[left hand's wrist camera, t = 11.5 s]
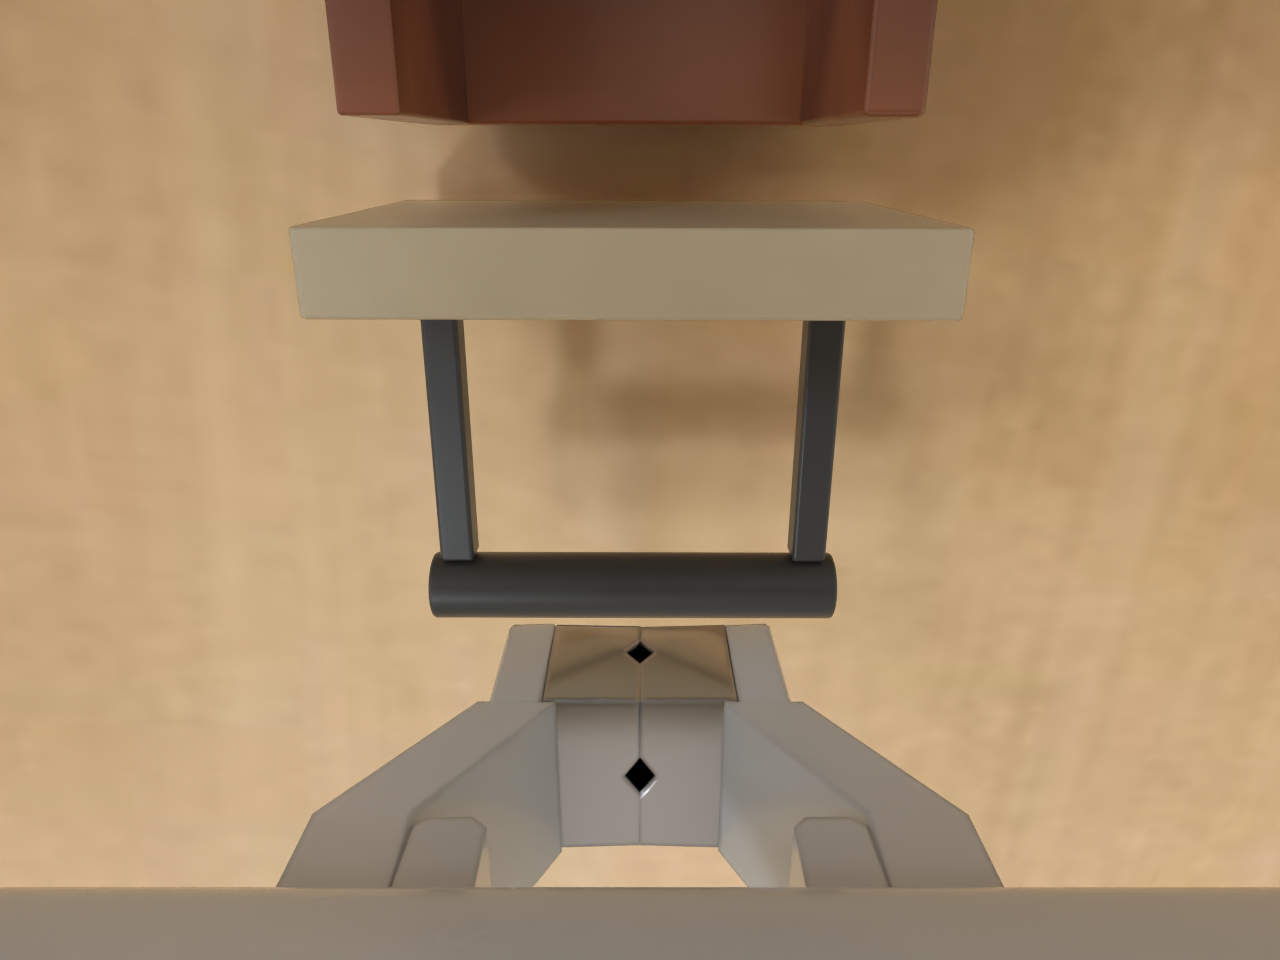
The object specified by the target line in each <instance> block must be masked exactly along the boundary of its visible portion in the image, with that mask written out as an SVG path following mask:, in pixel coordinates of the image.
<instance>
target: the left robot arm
mask: <svg viewBox="0 0 1280 960" xmlns="http://www.w3.org/2000/svg"><path fill="white" fill-rule="evenodd" d="M621 845H656V846H693V847H719V849H718V851H719V852H720V853H721V855H722V856H723V857H724V858H725V859H726V861H727V862H728V863H729V864H730V866H731V867H732V868H733V869H734V871H735V872H736V873H737V874H738V876H739V877H740V878H741V879H742V881H743V882H744V883H745V884H746V886H747V887H533V886H534V885H535V884H536V883H537V881H538V880H539V879H540V878H541V876H542V875H543V874H544V873H545V871H546V870H547V869H548V868H549V866H550V865H551V864H552V863H553V862H554V860H555V859H556V858H557V857H558V855H559V854H560V853H561V852H562V848H561V847H586V846H621ZM0 960H1280V887H1004V886H1003V884H1002V882H1001V880H1000V878H999V876H998V874H997V872H996V870H995V868H994V866H993V864H992V862H991V860H990V858H989V856H988V854H987V852H986V850H985V848H984V846H983V844H982V842H981V840H980V837H979V835H978V833H977V831H976V829H975V827H974V825H973V823H972V821H971V819H970V817H969V815H968V814H966V813H965V812H963V811H962V810H960V809H959V808H957V807H956V806H955V805H953V804H952V803H950V802H949V801H947V800H946V799H944V798H943V797H941V796H940V795H938V794H937V793H935V792H934V791H933V790H931V789H930V788H928V787H927V786H925V785H924V784H922V783H921V782H919V781H918V780H916V779H915V778H913V777H912V776H911V775H909V774H908V773H906V772H905V771H903V770H902V769H900V768H899V767H897V766H896V765H894V764H893V763H891V762H890V761H889V760H887V759H886V758H884V757H883V756H881V755H880V754H878V753H877V752H875V751H874V750H872V749H871V748H869V747H868V746H867V745H865V744H864V743H862V742H861V741H859V740H858V739H856V738H855V737H853V736H852V735H850V734H849V733H847V732H846V731H845V730H843V729H842V728H840V727H839V726H837V725H836V724H834V723H833V722H831V721H830V720H828V719H827V718H825V717H824V716H823V715H821V714H820V713H818V712H817V711H815V710H814V709H812V708H811V707H809V706H808V705H806V704H805V703H803V702H790V699H789V695H788V692H787V688H786V684H785V681H784V677H783V674H782V670H781V666H780V663H779V659H778V656H777V652H776V649H775V645H774V641H773V638H772V634H771V631H770V627H769V626H767V625H766V624H750V625H727V626H724V625H704V626H663V627H640V626H588V625H557V626H555V625H554V624H534V625H514V626H512V627H511V628H510V630H509V633H508V637H507V640H506V644H505V648H504V651H503V655H502V659H501V662H500V666H499V670H498V673H497V677H496V680H495V684H494V688H493V691H492V695H491V699H490V702H477V703H475V704H474V705H472V706H471V707H469V708H468V709H466V710H465V711H463V712H462V713H460V714H459V715H457V716H456V717H454V718H453V719H452V720H450V721H449V722H447V723H446V724H444V725H443V726H441V727H440V728H438V729H437V730H435V731H434V732H432V733H431V734H429V735H428V736H426V737H425V738H424V739H422V740H421V741H419V742H418V743H416V744H415V745H413V746H412V747H410V748H409V749H407V750H406V751H404V752H403V753H401V754H400V755H398V756H397V757H396V758H394V759H393V760H391V761H390V762H388V763H387V764H385V765H384V766H382V767H381V768H379V769H378V770H376V771H375V772H373V773H372V774H370V775H369V776H368V777H366V778H365V779H363V780H362V781H360V782H359V783H357V784H356V785H354V786H353V787H351V788H350V789H348V790H347V791H345V792H344V793H342V794H341V795H340V796H338V797H337V798H335V799H334V800H332V801H331V802H329V803H328V804H326V805H325V806H323V807H322V808H320V809H319V810H317V811H316V812H314V813H313V814H312V816H311V818H310V820H309V822H308V824H307V826H306V828H305V830H304V832H303V834H302V836H301V838H300V840H299V842H298V844H297V846H296V848H295V850H294V852H293V854H292V856H291V858H290V860H289V862H288V864H287V866H286V868H285V870H284V872H283V874H282V876H281V878H280V880H279V882H278V884H277V886H276V887H0Z"/></svg>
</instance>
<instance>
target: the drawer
mask: <svg viewBox="0 0 1280 960" xmlns="http://www.w3.org/2000/svg"><path fill="white" fill-rule="evenodd" d="M325 4H326V13H327V22H328V31H329V40H330V49H331V58H332V67H333V76H334V86H335V95H336V104H337V111H338V113H339V114H340V115H344V116H354V117H363V118H373V119H382V120H391V121H401V122H410V123H420V124H431V125H563V126H839V125H849V124H858V123H867V122H877V121H886V120H896V119H905V118H915V117H919V116H921V115H923V113H924V111H925V109H926V101H927V91H928V82H929V73H930V64H931V55H932V46H933V37H934V27H935V18H936V9H937V0H325ZM289 235H290V242H291V250H292V257H293V265H294V272H295V279H296V287H297V294H298V302H299V309H300V316H301V318H303V319H407V320H421V330H422V342H423V354H424V365H425V377H426V389H427V400H428V412H429V423H430V435H431V447H432V458H433V470H434V481H435V493H436V505H437V516H438V528H439V540H440V551H441V552H438V553H436V554H435V555H434V557H433V560H432V563H431V567H430V574H429V602H430V607H431V611H432V613H433V615H434V616H436V617H514V618H830V617H832V616H833V614H834V611H835V607H836V600H837V577H836V569H835V564H834V561H833V558H832V556H831V555H830V554H828V553H825V551H826V540H827V528H828V516H829V505H830V493H831V482H832V470H833V459H834V447H835V435H836V424H837V412H838V401H839V389H840V377H841V366H842V354H843V343H844V331H845V321H959V320H962V318H963V313H964V305H965V298H966V290H967V283H968V275H969V268H970V260H971V253H972V246H973V238H974V230H973V229H971V228H967V227H963V226H959V225H955V224H951V223H947V222H943V221H939V220H935V219H931V218H927V217H923V216H919V215H915V214H911V213H906V212H902V211H898V210H894V209H890V208H886V207H882V206H878V205H874V204H870V203H866V202H862V201H541V200H405V201H401V202H396V203H392V204H387V205H383V206H379V207H374V208H370V209H366V210H361V211H357V212H353V213H348V214H344V215H339V216H335V217H331V218H326V219H322V220H318V221H313V222H309V223H305V224H300V225H296V226H292V227H290V229H289ZM463 320H766V321H803V332H802V346H801V361H800V375H799V390H798V404H797V419H796V433H795V447H794V462H793V476H792V491H791V505H790V520H789V534H788V549H789V552H790V553H685V552H477V549H478V547H479V543H478V529H477V514H476V500H475V485H474V471H473V456H472V442H471V427H470V413H469V398H468V384H467V369H466V355H465V340H464V326H463Z"/></svg>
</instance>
